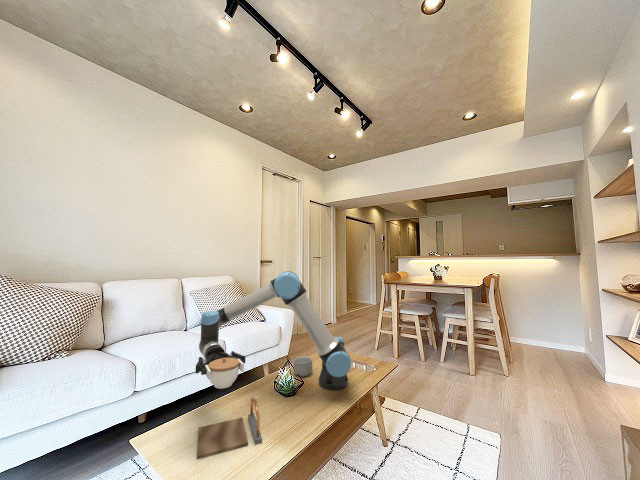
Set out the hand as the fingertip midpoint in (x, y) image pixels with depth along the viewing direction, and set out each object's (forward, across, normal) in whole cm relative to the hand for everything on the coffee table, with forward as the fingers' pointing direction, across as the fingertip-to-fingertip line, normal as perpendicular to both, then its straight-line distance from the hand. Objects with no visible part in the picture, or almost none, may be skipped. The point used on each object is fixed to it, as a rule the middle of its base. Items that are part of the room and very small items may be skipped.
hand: (226, 371), depth 94 cm
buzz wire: (-2, -11, -22) cm, 25 cm away
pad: (-4, 0, -24) cm, 25 cm away
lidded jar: (-4, 0, -6) cm, 7 cm away
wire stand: (-2, -11, -24) cm, 27 cm away
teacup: (-36, -51, -24) cm, 67 cm away
